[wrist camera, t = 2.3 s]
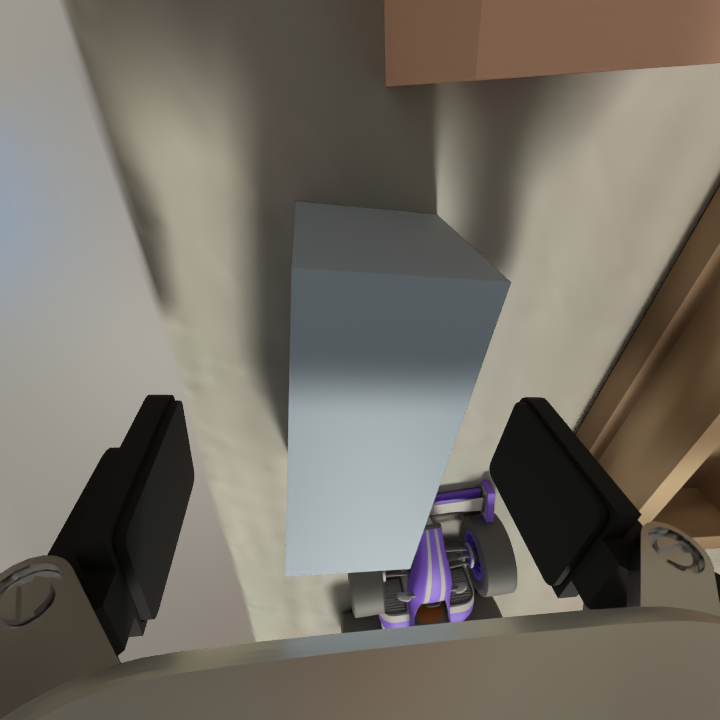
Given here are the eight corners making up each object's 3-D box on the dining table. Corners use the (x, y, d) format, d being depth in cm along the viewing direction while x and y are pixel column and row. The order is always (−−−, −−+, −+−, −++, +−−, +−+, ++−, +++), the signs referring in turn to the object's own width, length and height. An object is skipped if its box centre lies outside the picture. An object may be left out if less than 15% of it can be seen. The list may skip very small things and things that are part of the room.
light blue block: (295, 199, 11) (291, 267, 7) (435, 213, 11) (510, 282, 7) (289, 453, 16) (285, 576, 12) (384, 453, 17) (410, 568, 13)
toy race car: (515, 469, 19) (599, 618, 14) (479, 609, 28) (521, 733, 22) (319, 497, 18) (326, 664, 13) (344, 631, 27) (355, 764, 22)
